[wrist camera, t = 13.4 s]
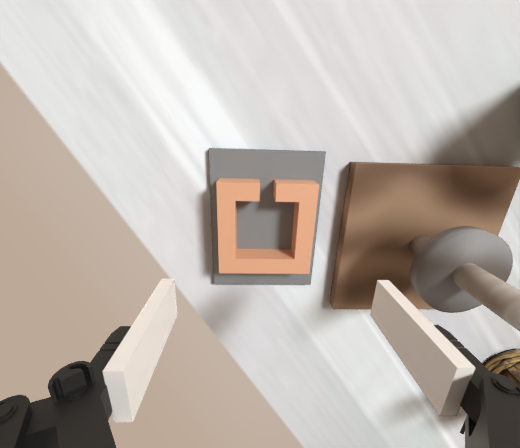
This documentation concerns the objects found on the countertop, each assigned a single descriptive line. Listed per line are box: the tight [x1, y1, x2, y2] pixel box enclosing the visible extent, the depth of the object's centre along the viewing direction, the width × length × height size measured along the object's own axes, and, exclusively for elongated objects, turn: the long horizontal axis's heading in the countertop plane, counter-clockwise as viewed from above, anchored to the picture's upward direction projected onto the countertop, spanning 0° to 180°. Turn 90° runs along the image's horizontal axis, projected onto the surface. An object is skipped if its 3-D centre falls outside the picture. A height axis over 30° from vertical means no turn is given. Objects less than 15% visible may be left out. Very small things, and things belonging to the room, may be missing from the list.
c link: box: [216, 178, 319, 274], centre depth 27 cm, size 10×10×2 cm
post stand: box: [330, 162, 520, 331], centre depth 23 cm, size 18×18×15 cm
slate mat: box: [209, 148, 326, 285], centre depth 28 cm, size 16×12×1 cm
